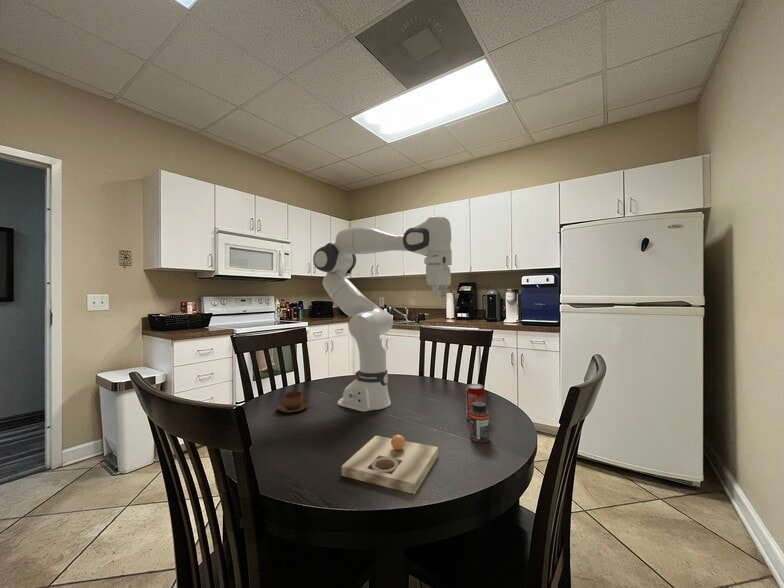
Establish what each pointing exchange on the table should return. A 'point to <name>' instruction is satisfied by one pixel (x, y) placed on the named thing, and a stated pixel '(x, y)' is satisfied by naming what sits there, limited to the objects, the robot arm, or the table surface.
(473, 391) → the soda can
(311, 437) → the table surface
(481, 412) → the supplement bottle
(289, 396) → the cup and saucer
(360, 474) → the light wooden flat slab
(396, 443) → the ball
